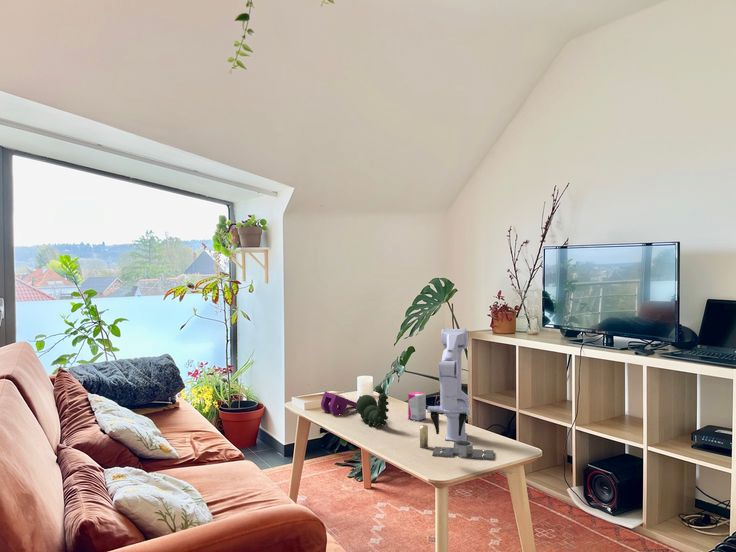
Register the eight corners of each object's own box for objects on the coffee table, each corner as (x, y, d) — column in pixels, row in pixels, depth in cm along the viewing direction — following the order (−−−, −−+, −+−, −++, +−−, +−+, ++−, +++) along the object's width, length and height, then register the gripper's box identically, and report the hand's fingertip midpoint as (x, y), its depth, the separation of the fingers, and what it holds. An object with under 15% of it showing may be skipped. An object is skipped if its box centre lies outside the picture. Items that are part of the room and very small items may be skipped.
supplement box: (426, 419, 251) (426, 393, 251) (418, 422, 247) (417, 395, 246) (416, 416, 255) (415, 391, 255) (407, 419, 251) (407, 393, 250)
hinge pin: (420, 445, 216) (420, 424, 216) (428, 446, 215) (428, 425, 215) (419, 448, 213) (419, 426, 213) (427, 448, 212) (427, 427, 212)
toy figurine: (393, 432, 238) (368, 412, 260) (395, 388, 236) (369, 372, 258) (373, 435, 234) (349, 415, 256) (374, 391, 232) (350, 374, 254)
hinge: (432, 455, 204) (432, 444, 204) (435, 448, 212) (434, 438, 212) (493, 460, 199) (493, 448, 199) (493, 452, 207) (493, 441, 207)
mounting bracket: (347, 419, 273) (318, 408, 263) (353, 402, 275) (324, 391, 265) (358, 423, 266) (329, 412, 256) (365, 406, 268) (336, 394, 258)
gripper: (425, 397, 195) (426, 436, 195) (468, 399, 191) (468, 439, 191) (429, 392, 201) (429, 430, 202) (470, 394, 198) (470, 432, 198)
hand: (448, 434), depth 197 cm, fingers open, 7 cm apart
